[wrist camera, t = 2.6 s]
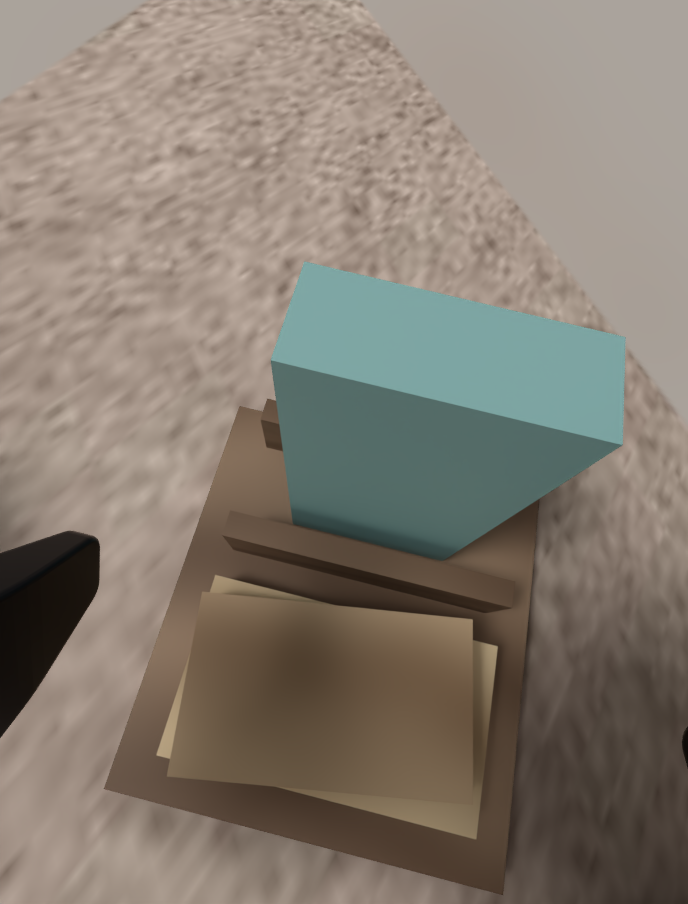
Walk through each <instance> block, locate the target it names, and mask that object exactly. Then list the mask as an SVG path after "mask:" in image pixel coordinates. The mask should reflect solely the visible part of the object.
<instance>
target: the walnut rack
mask: <svg viewBox="0 0 688 904" xmlns="http://www.w3.org/2000/svg"><path fill="white" fill-rule="evenodd" d="M538 508H539V499H538V500H536V501H535V502H533V503H532V504H530V505H529V506H527V507H526V508H524V509H522V510H521V511H519V512H518V513H516V514H515V515H513V516H512V517H510V518H508V519H507V520H505V521H504V522H502V523H501V524H499V525H498V526H496V527H494V528H493V529H491V530H490V531H488V532H487V533H485V534H484V535H482V536H481V537H479V538H477V539H476V540H474V541H473V542H471V543H470V544H468V545H467V546H465V547H463V548H462V549H460V550H459V551H457V552H456V553H454V554H453V555H451V556H449V557H448V558H446V559H445V560H443V561H439V560H435V559H431V558H427V557H423V556H419V555H415V554H411V553H407V552H403V551H399V550H395V549H391V548H387V547H383V546H379V545H375V544H371V543H367V542H363V541H359V540H355V539H351V538H347V537H343V536H339V535H335V534H331V533H327V532H323V531H319V530H315V529H311V528H307V527H303V526H299V525H295V524H293V522H292V514H291V507H290V499H289V492H288V485H287V477H286V470H285V462H284V455H283V448H282V440H281V433H280V425H279V418H278V410H277V403H276V401H275V400H270V399H267V401H266V404H265V407H264V410H263V412H262V411H258V410H253V409H249V408H245V407H241V406H240V407H239V409H238V412H237V415H236V418H235V421H234V424H233V426H232V429H231V432H230V435H229V438H228V440H227V443H226V446H225V449H224V452H223V455H222V457H221V460H220V463H219V466H218V469H217V471H216V474H215V477H214V480H213V483H212V486H211V488H210V491H209V494H208V497H207V500H206V502H205V505H204V508H203V511H202V514H201V517H200V519H199V522H198V525H197V528H196V531H195V534H194V536H193V539H192V542H191V545H190V548H189V550H188V553H187V556H186V559H185V562H184V565H183V567H182V570H181V573H180V576H179V579H178V581H177V584H176V587H175V590H174V593H173V596H172V598H171V601H170V604H169V607H168V610H167V612H166V615H165V618H164V621H163V624H162V627H161V629H160V632H159V635H158V638H157V641H156V643H155V646H154V649H153V652H152V655H151V658H150V660H149V663H148V666H147V669H146V672H145V674H144V677H143V680H142V683H141V686H140V689H139V691H138V694H137V697H136V700H135V703H134V705H133V708H132V711H131V714H130V717H129V720H128V722H127V725H126V728H125V731H124V734H123V737H122V739H121V742H120V745H119V748H118V751H117V753H116V756H115V759H114V762H113V765H112V768H111V770H110V773H109V776H108V779H107V782H106V784H105V787H104V789H106V790H110V791H114V792H118V793H121V794H125V795H129V796H133V797H136V798H140V799H144V800H148V801H151V802H155V803H159V804H163V805H166V806H170V807H174V808H178V809H181V810H185V811H189V812H193V813H197V814H200V815H204V816H208V817H212V818H215V819H219V820H223V821H227V822H230V823H234V824H238V825H242V826H245V827H249V828H253V829H257V830H260V831H264V832H268V833H272V834H275V835H279V836H283V837H287V838H290V839H294V840H298V841H302V842H306V843H309V844H313V845H317V846H321V847H324V848H328V849H332V850H336V851H339V852H343V853H347V854H351V855H354V856H358V857H362V858H366V859H369V860H373V861H377V862H381V863H384V864H388V865H392V866H396V867H399V868H403V869H407V870H411V871H415V872H418V873H422V874H426V875H430V876H433V877H437V878H441V879H445V880H448V881H452V882H456V883H460V884H463V885H467V886H471V887H475V888H478V889H482V890H486V891H490V892H493V893H497V894H501V895H503V889H504V879H505V868H506V857H507V846H508V835H509V824H510V813H511V802H512V791H513V780H514V770H515V759H516V748H517V737H518V726H519V715H520V704H521V693H522V682H523V671H524V661H525V650H526V639H527V628H528V617H529V606H530V595H531V584H532V573H533V562H534V552H535V541H536V530H537V519H538ZM215 575H218V576H222V577H226V578H230V579H233V580H237V581H241V582H245V583H249V584H253V585H257V586H261V587H265V588H269V589H273V590H277V591H281V592H285V593H289V594H293V595H297V596H301V597H305V598H309V599H312V600H316V601H320V602H324V603H328V604H332V605H337V606H347V607H357V608H367V609H376V610H386V611H396V612H406V613H415V614H425V615H435V616H445V617H454V618H464V619H473V640H474V641H478V642H482V643H486V644H490V645H494V646H498V649H497V658H496V667H495V676H494V685H493V694H492V703H491V712H490V721H489V730H488V739H487V748H486V757H485V766H484V775H483V784H482V793H481V802H480V811H479V820H478V829H477V838H476V839H472V838H468V837H464V836H461V835H457V834H453V833H449V832H445V831H442V830H438V829H434V828H430V827H427V826H423V825H419V824H415V823H411V822H408V821H404V820H400V819H396V818H392V817H389V816H385V815H381V814H377V813H373V812H370V811H366V810H362V809H358V808H354V807H351V806H347V805H343V804H339V803H335V802H332V801H328V800H324V799H320V798H316V797H313V796H309V795H305V794H301V793H297V792H294V791H290V790H286V789H282V788H279V787H274V786H263V785H252V784H241V783H231V782H220V781H209V780H198V779H187V778H177V777H167V772H168V767H169V761H170V759H168V758H165V757H161V756H157V755H156V754H157V751H158V748H159V745H160V742H161V739H162V736H163V733H164V730H165V727H166V724H167V721H168V718H169V715H170V712H171V709H172V706H173V703H174V699H175V696H176V693H177V690H178V687H179V684H180V681H181V678H182V675H183V672H184V669H185V666H186V663H187V660H188V657H189V654H190V651H191V647H192V642H193V637H194V631H195V626H196V621H197V616H198V611H199V605H200V600H201V595H202V592H210V590H211V587H212V584H213V581H214V578H215Z"/></svg>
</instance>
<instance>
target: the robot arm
mask: <svg viewBox="0 0 688 904" xmlns="http://www.w3.org/2000/svg"><path fill="white" fill-rule="evenodd" d="M99 570H100V545H99V541H98V539H97V538H96V537H94V536H91V535H88V534H84V533H80V532H76V531H66V532H62V533H59V534H56V535H53V536H50V537H47V538H44V539H41V540H38V541H35V542H32V543H29V544H26V545H23V546H21V547H18V548H15V549H12V550H9V551H6V552H3V553H0V738H1V737H2V735H3V734H4V733H5V731H6V730H7V729H8V727H9V726H10V725H11V723H12V722H13V721H14V720H15V718H16V717H17V716H18V714H19V713H20V712H21V710H22V709H23V708H24V706H25V705H26V704H27V702H28V701H29V700H30V698H31V697H32V695H33V694H34V693H35V691H36V690H37V688H38V687H39V685H40V683H41V682H42V680H43V679H44V677H45V676H46V674H47V673H48V671H49V669H50V668H51V666H52V665H53V663H54V661H55V660H56V658H57V657H58V655H59V653H60V652H61V650H62V648H63V647H64V645H65V644H66V642H67V640H68V639H69V637H70V636H71V634H72V632H73V631H74V629H75V628H76V626H77V624H78V623H79V621H80V620H81V618H82V616H83V615H84V613H85V611H86V610H87V608H88V607H89V605H90V603H91V602H92V600H93V598H94V597H95V595H96V592H97V589H98V586H99ZM682 748H683V753H684V756H685V760H686V763H687V767H688V727H687V728H686V730H685V731H684V734H683V739H682Z"/></svg>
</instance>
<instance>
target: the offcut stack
mask: <svg viewBox="0 0 688 904" xmlns="http://www.w3.org/2000/svg"><path fill="white" fill-rule="evenodd" d="M497 649H498V646H494V645H490V644H486V643H482V642H478V641H474V640H473V619H464V618H454V617H445V616H435V615H425V614H415V613H406V612H396V611H386V610H376V609H367V608H357V607H347V606H337V605H332V604H328V603H324V602H320V601H316V600H312V599H309V598H305V597H301V596H297V595H293V594H289V593H285V592H281V591H277V590H273V589H269V588H265V587H261V586H257V585H253V584H249V583H245V582H241V581H237V580H233V579H230V578H226V577H222V576H218V575H215V578H214V581H213V584H212V587H211V590H210V592H202V595H201V600H200V605H199V611H198V616H197V621H196V626H195V631H194V637H193V642H192V647H191V651H190V654H189V657H188V660H187V663H186V666H185V669H184V672H183V675H182V678H181V681H180V684H179V687H178V690H177V693H176V696H175V699H174V703H173V706H172V709H171V712H170V715H169V718H168V721H167V724H166V727H165V730H164V733H163V736H162V739H161V742H160V745H159V748H158V751H157V754H156V755H157V756H161V757H165V758H168V759H170V761H169V767H168V772H167V777H177V778H187V779H198V780H209V781H220V782H231V783H241V784H252V785H263V786H274V787H279V788H282V789H286V790H290V791H294V792H297V793H301V794H305V795H309V796H313V797H316V798H320V799H324V800H328V801H332V802H335V803H339V804H343V805H347V806H351V807H354V808H358V809H362V810H366V811H370V812H373V813H377V814H381V815H385V816H389V817H392V818H396V819H400V820H404V821H408V822H411V823H415V824H419V825H423V826H427V827H430V828H434V829H438V830H442V831H445V832H449V833H453V834H457V835H461V836H464V837H468V838H472V839H476V838H477V829H478V820H479V811H480V802H481V793H482V784H483V775H484V766H485V757H486V748H487V739H488V730H489V721H490V712H491V703H492V694H493V685H494V676H495V667H496V658H497Z"/></svg>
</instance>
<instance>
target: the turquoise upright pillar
mask: <svg viewBox="0 0 688 904" xmlns="http://www.w3.org/2000/svg"><path fill="white" fill-rule="evenodd" d="M271 366H272V373H273V381H274V388H275V396H276V403H277V410H278V418H279V425H280V433H281V440H282V448H283V455H284V462H285V470H286V477H287V485H288V492H289V499H290V507H291V514H292V522H293V524H295V525H299V526H303V527H307V528H311V529H315V530H319V531H323V532H327V533H331V534H335V535H339V536H343V537H347V538H351V539H355V540H359V541H363V542H367V543H371V544H375V545H379V546H383V547H387V548H391V549H395V550H399V551H403V552H407V553H411V554H415V555H419V556H423V557H427V558H431V559H435V560H439V561H443V560H445V559H446V558H448V557H449V556H451V555H453V554H454V553H456V552H457V551H459V550H460V549H462V548H463V547H465V546H467V545H468V544H470V543H471V542H473V541H474V540H476V539H477V538H479V537H481V536H482V535H484V534H485V533H487V532H488V531H490V530H491V529H493V528H494V527H496V526H498V525H499V524H501V523H502V522H504V521H505V520H507V519H508V518H510V517H512V516H513V515H515V514H516V513H518V512H519V511H521V510H522V509H524V508H526V507H527V506H529V505H530V504H532V503H533V502H535V501H536V500H538V499H540V498H541V497H543V496H544V495H546V494H547V493H549V492H550V491H552V490H554V489H555V488H557V487H558V486H560V485H561V484H563V483H564V482H566V481H567V480H569V479H571V478H572V477H574V476H575V475H577V474H578V473H580V472H581V471H583V470H585V469H586V468H588V467H589V466H591V465H592V464H594V463H595V462H597V461H599V460H600V459H602V458H603V457H605V456H606V455H608V454H609V453H611V452H613V451H614V450H616V449H617V448H619V447H620V446H622V445H623V411H624V374H625V337H623V336H619V335H614V334H610V333H606V332H602V331H597V330H593V329H589V328H585V327H580V326H576V325H572V324H568V323H563V322H559V321H555V320H551V319H546V318H542V317H538V316H534V315H529V314H525V313H521V312H517V311H512V310H508V309H504V308H500V307H495V306H491V305H487V304H483V303H478V302H474V301H470V300H466V299H461V298H457V297H453V296H449V295H444V294H440V293H436V292H432V291H427V290H423V289H419V288H415V287H410V286H406V285H402V284H398V283H393V282H389V281H385V280H381V279H376V278H372V277H368V276H364V275H359V274H355V273H351V272H347V271H342V270H338V269H334V268H330V267H325V266H321V265H317V264H313V263H308V262H304V264H303V267H302V270H301V273H300V276H299V279H298V282H297V285H296V288H295V291H294V294H293V297H292V299H291V302H290V305H289V308H288V311H287V314H286V317H285V320H284V323H283V326H282V329H281V332H280V335H279V338H278V340H277V343H276V346H275V349H274V352H273V355H272V358H271Z"/></svg>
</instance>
